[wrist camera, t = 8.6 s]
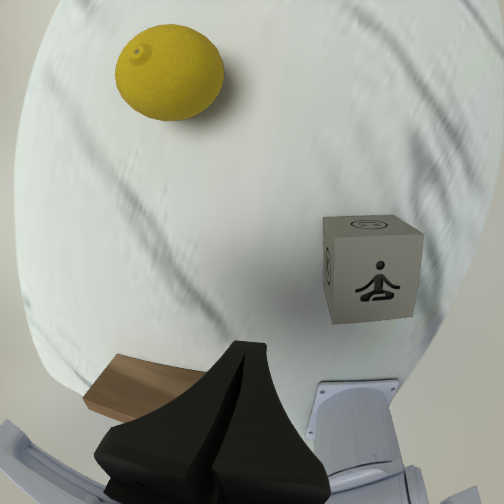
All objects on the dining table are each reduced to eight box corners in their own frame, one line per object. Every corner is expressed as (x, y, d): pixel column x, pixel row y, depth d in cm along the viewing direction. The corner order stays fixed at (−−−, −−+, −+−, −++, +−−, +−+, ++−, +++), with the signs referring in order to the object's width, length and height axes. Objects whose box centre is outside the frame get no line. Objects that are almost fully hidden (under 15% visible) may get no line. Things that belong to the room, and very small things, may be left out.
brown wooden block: (251, 389, 23) (239, 449, 17) (120, 365, 25) (88, 409, 19) (251, 377, 23) (238, 440, 16) (117, 353, 25) (82, 397, 18)
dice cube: (323, 285, 19) (332, 324, 15) (322, 216, 18) (334, 237, 13) (388, 281, 19) (412, 316, 14) (392, 214, 17) (423, 234, 12)
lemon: (249, 104, 16) (218, 64, 8) (176, 141, 17) (105, 135, 10) (216, 41, 15) (172, -17, 7) (148, 79, 16) (77, 50, 8)
